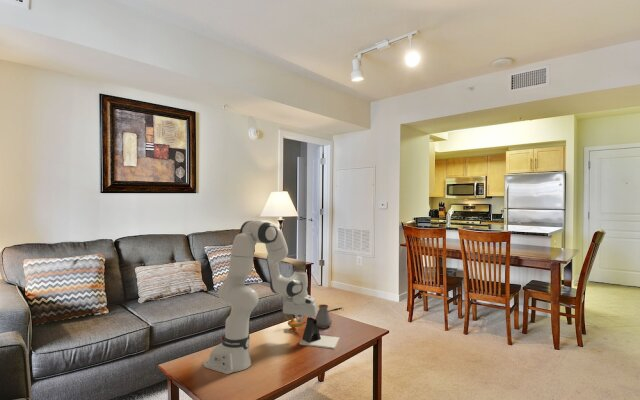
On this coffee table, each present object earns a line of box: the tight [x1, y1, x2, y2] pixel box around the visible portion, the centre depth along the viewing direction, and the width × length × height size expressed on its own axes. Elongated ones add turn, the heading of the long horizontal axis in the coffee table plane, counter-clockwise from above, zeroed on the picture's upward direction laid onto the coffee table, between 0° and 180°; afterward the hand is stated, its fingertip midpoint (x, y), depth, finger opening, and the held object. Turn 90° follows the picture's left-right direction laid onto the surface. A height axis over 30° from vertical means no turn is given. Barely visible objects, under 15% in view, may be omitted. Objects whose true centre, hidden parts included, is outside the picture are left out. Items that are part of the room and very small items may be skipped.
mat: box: [299, 334, 341, 350], centre depth 191 cm, size 20×14×1 cm
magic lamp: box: [284, 313, 307, 332], centre depth 208 cm, size 7×18×11 cm, turn 54°
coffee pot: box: [314, 304, 344, 329], centre depth 213 cm, size 21×12×15 cm, turn 50°
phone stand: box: [301, 316, 321, 343], centre depth 193 cm, size 9×6×12 cm, turn 127°
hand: (299, 322), depth 195 cm, fingers closed
